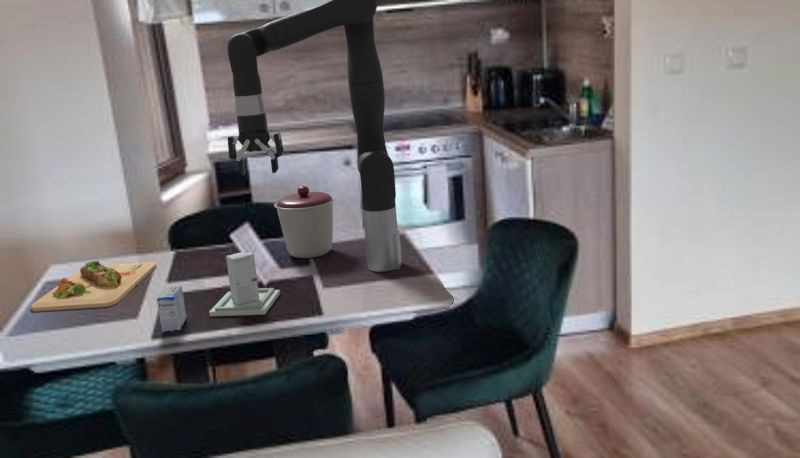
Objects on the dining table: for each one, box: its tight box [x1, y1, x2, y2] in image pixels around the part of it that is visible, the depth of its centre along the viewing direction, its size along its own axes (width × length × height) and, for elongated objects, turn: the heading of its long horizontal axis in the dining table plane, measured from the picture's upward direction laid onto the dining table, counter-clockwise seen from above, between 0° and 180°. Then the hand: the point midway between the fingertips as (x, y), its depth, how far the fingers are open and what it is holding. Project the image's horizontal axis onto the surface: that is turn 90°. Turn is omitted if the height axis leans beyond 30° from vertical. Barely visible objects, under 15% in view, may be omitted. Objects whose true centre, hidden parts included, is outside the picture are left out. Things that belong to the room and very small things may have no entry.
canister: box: [273, 185, 336, 259], centre depth 229 cm, size 18×18×21 cm
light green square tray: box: [208, 287, 281, 317], centre depth 192 cm, size 14×14×2 cm
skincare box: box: [225, 251, 259, 305], centre depth 191 cm, size 6×4×12 cm
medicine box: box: [156, 285, 187, 333], centre depth 182 cm, size 8×4×9 cm, turn 5°
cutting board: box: [30, 260, 158, 313], centre depth 217 cm, size 35×23×8 cm
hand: (259, 173), depth 202 cm, fingers open, 8 cm apart
